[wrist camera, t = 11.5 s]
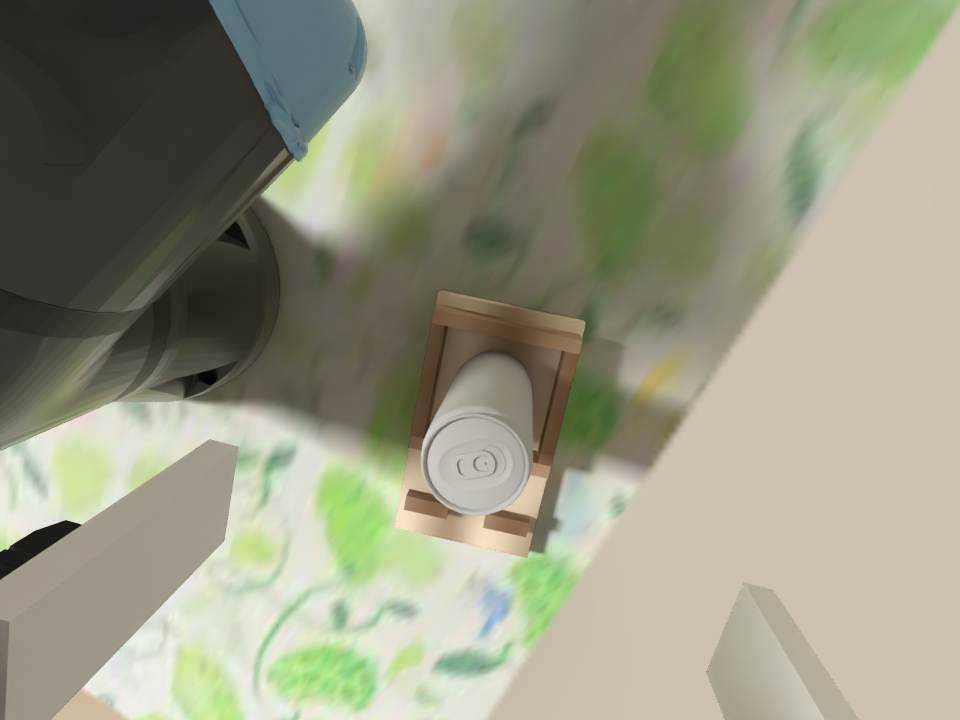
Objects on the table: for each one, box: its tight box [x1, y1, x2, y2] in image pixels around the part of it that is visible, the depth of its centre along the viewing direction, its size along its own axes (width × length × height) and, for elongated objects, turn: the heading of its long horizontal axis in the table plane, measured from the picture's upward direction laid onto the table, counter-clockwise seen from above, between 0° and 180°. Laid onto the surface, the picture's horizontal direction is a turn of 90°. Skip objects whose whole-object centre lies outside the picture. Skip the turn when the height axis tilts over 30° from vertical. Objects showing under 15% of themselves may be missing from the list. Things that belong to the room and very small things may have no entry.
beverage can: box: [421, 351, 533, 516], centre depth 30 cm, size 5×5×12 cm
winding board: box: [395, 290, 586, 558], centre depth 36 cm, size 9×16×3 cm, turn 168°
